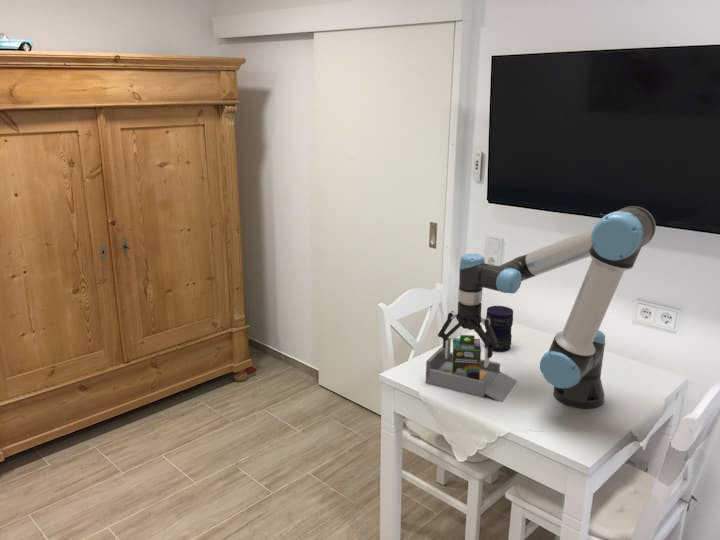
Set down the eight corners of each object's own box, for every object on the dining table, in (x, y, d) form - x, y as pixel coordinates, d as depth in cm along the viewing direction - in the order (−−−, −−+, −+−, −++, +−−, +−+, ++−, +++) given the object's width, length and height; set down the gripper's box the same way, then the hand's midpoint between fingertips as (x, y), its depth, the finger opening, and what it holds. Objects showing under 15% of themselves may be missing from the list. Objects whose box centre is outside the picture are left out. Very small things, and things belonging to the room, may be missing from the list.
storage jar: (481, 349, 222) (484, 312, 218) (486, 340, 231) (489, 304, 227) (508, 354, 219) (511, 316, 214) (512, 344, 227) (515, 307, 223)
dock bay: (516, 382, 199) (518, 359, 196) (502, 403, 185) (504, 379, 183) (444, 365, 211) (445, 343, 209) (425, 384, 197) (426, 361, 195)
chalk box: (478, 369, 202) (481, 329, 198) (479, 382, 193) (482, 340, 189) (451, 367, 203) (453, 327, 199) (451, 380, 195) (453, 338, 190)
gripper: (511, 304, 188) (506, 365, 194) (438, 292, 200) (436, 349, 206) (504, 311, 182) (499, 374, 188) (429, 298, 194) (427, 357, 200)
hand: (466, 361), depth 197 cm, fingers open, 13 cm apart
